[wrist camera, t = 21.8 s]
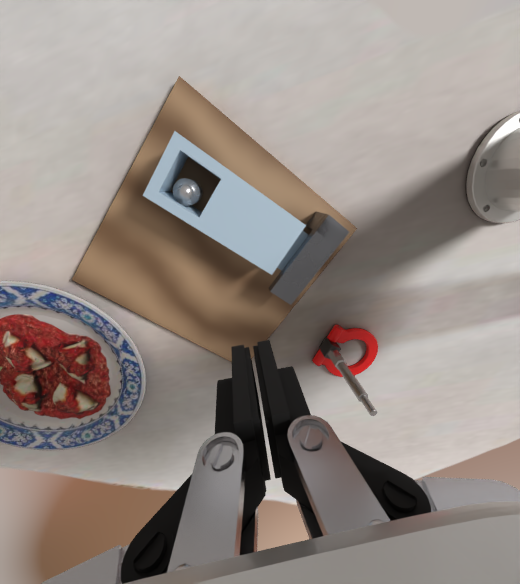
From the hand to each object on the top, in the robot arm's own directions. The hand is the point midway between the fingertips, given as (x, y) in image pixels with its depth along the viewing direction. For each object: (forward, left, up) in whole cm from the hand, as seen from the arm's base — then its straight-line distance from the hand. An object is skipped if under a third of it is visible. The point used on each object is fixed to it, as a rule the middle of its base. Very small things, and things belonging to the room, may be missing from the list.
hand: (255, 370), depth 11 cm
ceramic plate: (+27, -12, -23) cm, 37 cm away
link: (-4, -2, -21) cm, 22 cm away
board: (+1, -2, -22) cm, 22 cm away
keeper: (-4, +6, -21) cm, 22 cm away
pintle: (-3, -8, -22) cm, 24 cm away
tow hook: (+3, +22, -22) cm, 32 cm away
